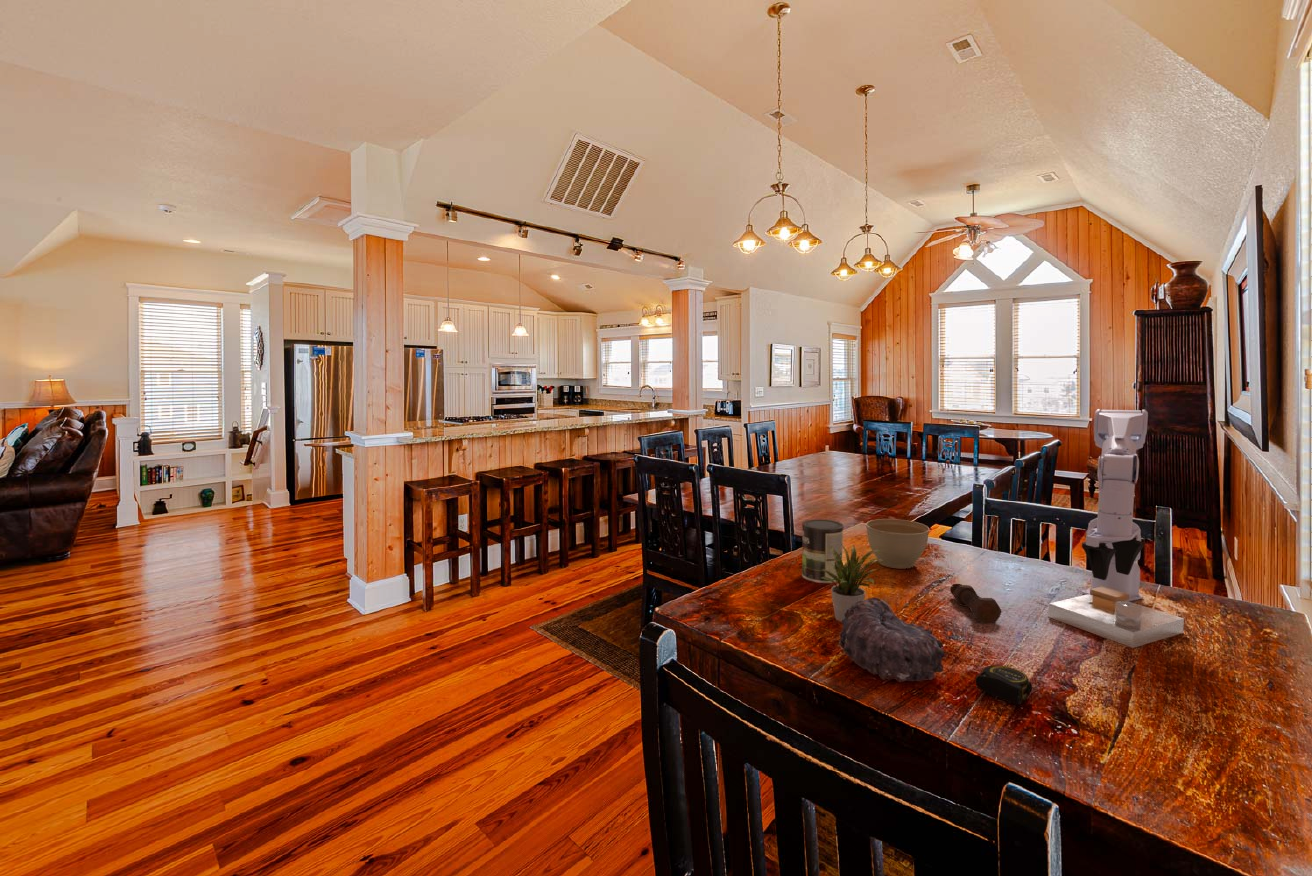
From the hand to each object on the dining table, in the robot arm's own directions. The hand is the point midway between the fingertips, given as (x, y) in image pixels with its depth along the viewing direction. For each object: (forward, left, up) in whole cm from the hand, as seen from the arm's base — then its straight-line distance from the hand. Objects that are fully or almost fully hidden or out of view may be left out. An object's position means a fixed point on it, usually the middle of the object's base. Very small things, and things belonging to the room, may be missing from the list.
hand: (1111, 576), depth 123 cm
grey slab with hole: (+2, +2, -9) cm, 10 cm away
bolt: (+21, -16, -10) cm, 28 cm away
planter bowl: (+12, -47, -10) cm, 49 cm away
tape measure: (+47, +12, -10) cm, 50 cm away
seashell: (+56, -4, -10) cm, 57 cm away
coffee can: (+37, -47, -10) cm, 61 cm away
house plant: (+48, -22, -10) cm, 54 cm away
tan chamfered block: (0, 0, -10) cm, 10 cm away
